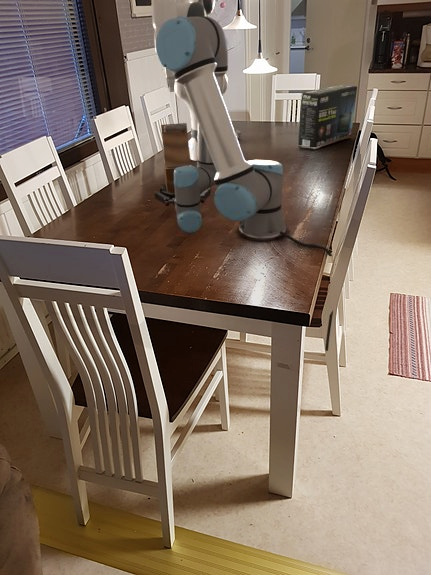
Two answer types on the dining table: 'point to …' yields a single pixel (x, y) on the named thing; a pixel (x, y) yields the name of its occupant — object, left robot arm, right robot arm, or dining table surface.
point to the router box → (326, 115)
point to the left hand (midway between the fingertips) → (171, 89)
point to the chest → (169, 178)
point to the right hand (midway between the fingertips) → (181, 186)
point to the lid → (175, 145)
